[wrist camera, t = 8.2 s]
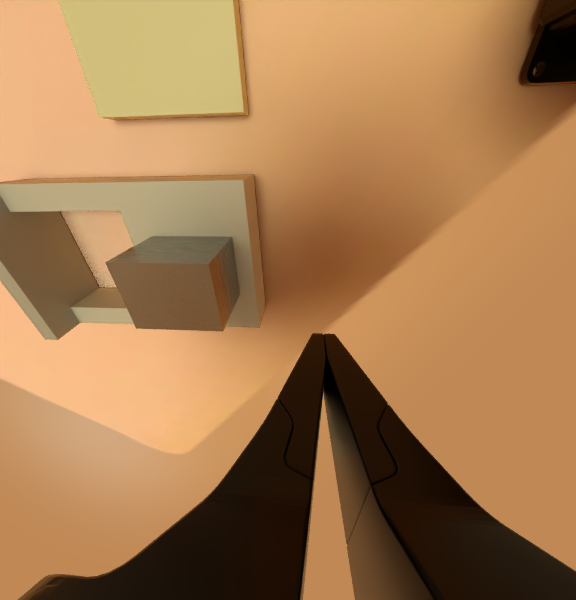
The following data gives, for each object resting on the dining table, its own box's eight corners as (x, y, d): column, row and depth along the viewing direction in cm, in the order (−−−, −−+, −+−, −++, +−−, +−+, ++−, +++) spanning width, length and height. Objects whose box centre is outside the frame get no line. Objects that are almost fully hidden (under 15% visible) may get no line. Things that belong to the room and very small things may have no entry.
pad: (225, -150, 9) (214, -187, 8) (248, 114, 13) (243, 112, 12) (32, -127, 10) (0, -160, 9) (114, 119, 14) (99, 117, 13)
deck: (253, 174, 15) (233, 184, 11) (265, 305, 20) (254, 346, 16) (29, 178, 16) (-70, 189, 12) (96, 301, 21) (45, 339, 17)
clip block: (232, 236, 14) (208, 263, 11) (240, 293, 16) (223, 331, 13) (152, 235, 14) (105, 262, 11) (170, 292, 17) (136, 328, 13)
